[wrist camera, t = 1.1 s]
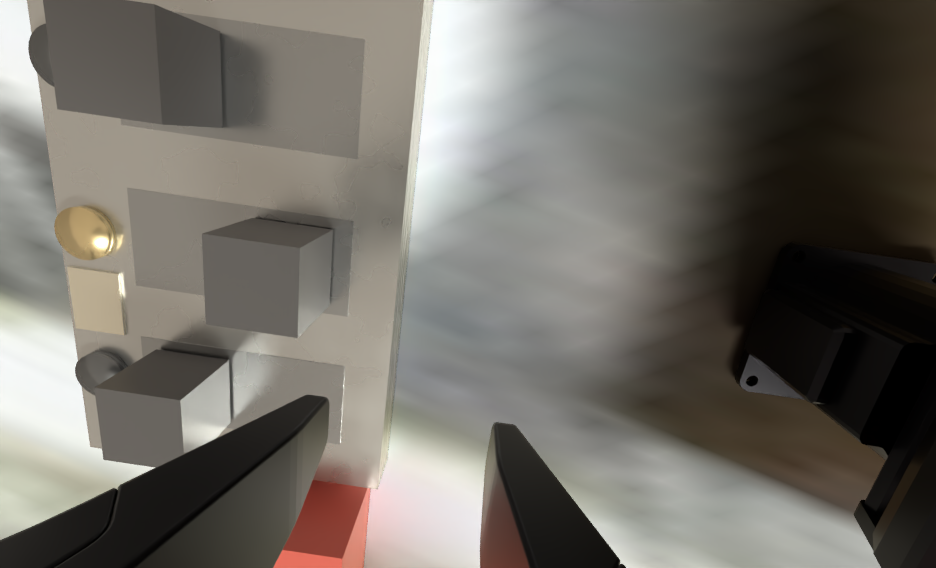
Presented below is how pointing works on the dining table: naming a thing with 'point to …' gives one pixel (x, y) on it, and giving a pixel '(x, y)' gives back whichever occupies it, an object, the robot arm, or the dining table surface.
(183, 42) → the block
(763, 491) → the dining table surface
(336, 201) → the panel
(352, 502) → the cap
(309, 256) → the grey cube
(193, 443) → the block
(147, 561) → the robot arm
